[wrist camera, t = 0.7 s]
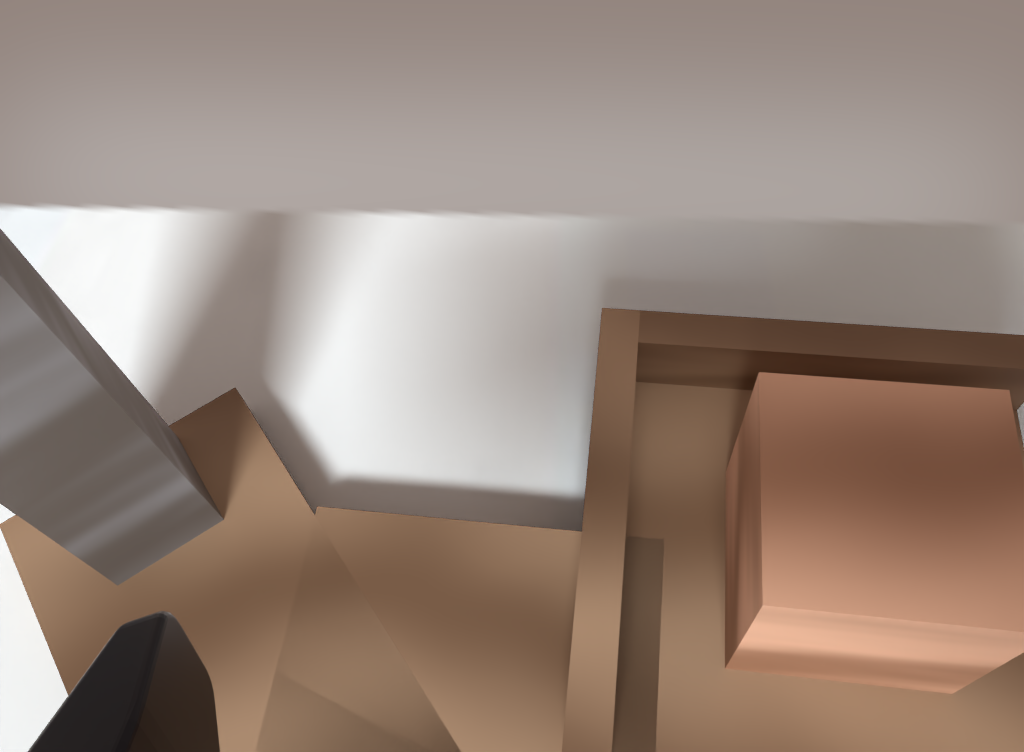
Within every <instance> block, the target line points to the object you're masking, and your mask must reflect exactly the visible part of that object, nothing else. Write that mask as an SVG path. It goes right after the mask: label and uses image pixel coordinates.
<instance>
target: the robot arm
mask: <svg viewBox="0 0 1024 752" xmlns="http://www.w3.org/2000/svg"><path fill="white" fill-rule="evenodd" d="M28 752H220V746H219V736H218V726H217V716H216V706H215V697H214V691H213V686H212V682H211V679H210V676H209V674H208V671H207V669H206V667H205V666H204V664H203V662H202V661H201V659H200V657H199V655H198V654H197V652H196V650H195V649H194V647H193V645H192V644H191V642H190V640H189V638H188V637H187V635H186V633H185V632H184V630H183V628H182V627H181V625H180V623H179V622H178V620H177V619H176V618H175V617H174V616H173V615H172V614H171V613H170V612H166V611H160V612H157V613H154V614H151V615H148V616H145V617H142V618H139V619H136V620H133V621H130V622H127V623H125V624H123V625H121V626H120V627H119V628H118V629H117V630H116V631H115V633H114V634H113V635H112V637H111V638H110V639H109V641H108V642H107V644H106V645H105V646H104V648H103V649H102V650H101V652H100V653H99V655H98V656H97V657H96V659H95V660H94V661H93V663H92V664H91V666H90V667H89V668H88V670H87V671H86V672H85V674H84V675H83V677H82V678H81V679H80V681H79V682H78V683H77V685H76V686H75V687H74V689H73V690H72V692H71V693H70V694H69V696H68V697H67V698H66V700H65V701H64V703H63V704H62V705H61V707H60V708H59V709H58V711H57V712H56V714H55V715H54V716H53V718H52V719H51V720H50V722H49V723H48V725H47V726H46V727H45V729H44V730H43V731H42V733H41V734H40V736H39V737H38V738H37V740H36V741H35V742H34V744H33V745H32V746H31V748H30V749H29V751H28Z"/></svg>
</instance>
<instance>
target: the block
mask: <svg viewBox="0 0 1024 752" xmlns="http://www.w3.org/2000/svg"><path fill="white" fill-rule="evenodd" d="M1022 653H1024V469H1023V463H1022V458H1021V452H1020V447H1019V441H1018V435H1017V430H1016V424H1015V419H1014V413H1013V408H1012V402H1011V397H1010V391H1009V390H1002V389H988V388H974V387H960V386H946V385H932V384H918V383H904V382H890V381H876V380H862V379H848V378H834V377H821V376H807V375H793V374H779V373H765V372H759V373H758V376H757V379H756V382H755V385H754V388H753V391H752V394H751V397H750V400H749V403H748V406H747V409H746V413H745V416H744V419H743V422H742V425H741V428H740V431H739V434H738V437H737V440H736V443H735V446H734V449H733V452H732V455H731V458H730V461H729V464H728V467H727V470H726V545H725V669H732V670H741V671H750V672H759V673H768V674H777V675H786V676H795V677H804V678H813V679H822V680H831V681H840V682H849V683H858V684H867V685H876V686H885V687H894V688H903V689H912V690H921V691H930V692H939V693H948V694H953V693H955V692H956V691H958V690H960V689H962V688H963V687H965V686H967V685H968V684H970V683H972V682H974V681H975V680H977V679H979V678H981V677H982V676H984V675H986V674H987V673H989V672H991V671H993V670H994V669H996V668H998V667H999V666H1001V665H1003V664H1005V663H1006V662H1008V661H1010V660H1011V659H1013V658H1015V657H1017V656H1018V655H1020V654H1022Z"/></svg>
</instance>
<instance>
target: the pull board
mask: <svg viewBox="0 0 1024 752" xmlns="http://www.w3.org/2000/svg"><path fill="white" fill-rule="evenodd" d="M759 372H765V373H779V374H793V375H807V376H821V377H834V378H848V379H862V380H876V381H890V382H904V383H918V384H932V385H946V386H960V387H974V388H988V389H1002V390H1009V391H1010V397H1011V402H1012V408H1013V413H1014V419H1015V424H1016V430H1017V435H1018V441H1019V447H1020V452H1021V458H1022V463H1023V469H1024V447H1023V442H1022V436H1021V431H1020V425H1019V420H1018V414H1017V409H1018V408H1019V407H1020V406H1021V405H1022V404H1023V402H1024V335H1012V334H996V333H981V332H966V331H950V330H935V329H919V328H904V327H888V326H873V325H857V324H842V323H826V322H811V321H795V320H780V319H764V318H749V317H733V316H718V315H703V314H687V313H672V312H656V311H641V310H626V309H610V308H602V314H601V325H600V336H599V347H598V358H597V369H596V380H595V391H594V402H593V413H592V424H591V435H590V446H589V457H588V468H587V479H586V490H585V501H584V512H583V523H582V531H571V530H561V529H550V528H540V527H529V526H519V525H508V524H498V523H487V522H477V521H466V520H456V519H445V518H435V517H424V516H413V515H403V514H392V513H382V512H371V511H361V510H350V509H340V508H329V507H319V506H317V509H316V513H315V514H314V513H313V511H312V509H311V508H310V506H309V505H308V503H307V501H306V500H305V498H304V496H303V495H302V493H301V492H300V490H299V488H298V487H297V485H296V484H295V482H294V480H293V479H292V477H291V476H290V474H289V472H288V471H287V469H286V467H285V466H284V464H283V463H282V461H281V459H280V458H279V456H278V455H277V453H276V451H275V450H274V448H273V447H272V445H271V443H270V442H269V440H268V438H267V437H266V435H265V434H264V432H263V430H262V429H261V427H260V426H259V424H258V422H257V421H256V419H255V418H254V416H253V414H252V413H251V411H250V409H249V408H248V406H247V405H246V403H245V402H244V400H243V399H242V397H241V396H240V394H239V393H238V391H237V390H236V388H233V389H232V390H230V391H228V392H227V393H225V394H223V395H221V396H220V397H218V398H216V399H215V400H213V401H211V402H209V403H208V404H206V405H204V406H202V407H201V408H199V409H197V410H196V411H194V412H192V413H190V414H189V415H187V416H185V417H184V418H182V419H180V420H178V421H177V422H175V423H173V424H172V425H170V426H168V425H167V424H166V423H165V421H164V420H163V419H162V418H161V417H160V416H159V414H158V413H157V412H156V411H155V410H154V409H153V407H152V406H151V405H150V404H149V403H148V401H147V400H146V399H145V398H144V397H143V396H142V394H141V393H140V392H139V391H138V390H137V389H136V387H135V386H134V385H133V384H132V383H131V382H130V380H129V379H128V378H127V377H126V376H125V374H124V373H123V372H122V371H121V370H120V369H119V367H118V366H117V365H116V364H115V363H114V362H113V360H112V359H111V358H110V357H109V356H108V355H107V353H106V352H105V351H104V350H103V349H102V347H101V346H100V345H99V344H98V343H97V342H96V340H95V339H94V338H93V337H92V336H91V335H90V333H89V332H88V331H87V330H86V329H85V328H84V326H83V325H82V324H81V323H80V322H79V320H78V319H77V318H76V317H75V316H74V315H73V313H72V312H71V311H70V310H69V309H68V308H67V306H66V305H65V304H64V303H63V302H62V301H61V299H60V298H59V297H58V296H57V295H56V293H55V292H54V291H53V290H52V289H51V288H50V286H49V285H48V284H47V283H46V282H45V281H44V279H43V278H42V277H41V276H40V275H39V274H38V272H37V271H36V270H35V269H34V268H33V266H32V265H31V264H30V263H29V262H28V261H27V259H26V258H25V257H24V256H23V255H22V254H21V252H20V251H19V250H18V249H17V248H16V247H15V245H14V244H13V243H12V242H11V241H10V239H9V238H8V237H7V236H6V235H5V234H4V232H3V231H2V230H1V229H0V504H2V505H3V506H5V507H6V508H7V509H9V510H10V511H12V512H13V513H15V514H16V515H15V516H13V517H11V518H10V519H8V520H6V521H5V522H3V523H1V524H0V528H1V530H2V533H3V535H4V538H5V540H6V543H7V545H8V548H9V550H10V553H11V555H12V558H13V560H14V563H15V565H16V567H17V570H18V572H19V575H20V577H21V580H22V582H23V585H24V587H25V590H26V592H27V595H28V597H29V600H30V602H31V604H32V607H33V609H34V612H35V614H36V617H37V619H38V622H39V624H40V627H41V629H42V632H43V634H44V637H45V639H46V641H47V644H48V646H49V649H50V651H51V654H52V656H53V659H54V661H55V664H56V666H57V669H58V671H59V674H60V676H61V679H62V681H63V683H64V686H65V688H66V691H67V693H68V696H69V694H70V693H71V692H72V690H73V689H74V687H75V686H76V685H77V683H78V682H79V681H80V679H81V678H82V677H83V675H84V674H85V672H86V671H87V670H88V668H89V667H90V666H91V664H92V663H93V661H94V660H95V659H96V657H97V656H98V655H99V653H100V652H101V650H102V649H103V648H104V646H105V645H106V644H107V642H108V641H109V639H110V638H111V637H112V635H113V634H114V633H115V631H116V630H117V629H118V628H119V627H120V626H121V625H123V624H125V623H127V622H130V621H133V620H136V619H139V618H142V617H145V616H148V615H151V614H154V613H157V612H160V611H166V612H170V613H171V614H172V615H173V616H174V617H175V618H176V619H177V620H178V622H179V623H180V625H181V627H182V628H183V630H184V632H185V633H186V635H187V637H188V638H189V640H190V642H191V644H192V645H193V647H194V649H195V650H196V652H197V654H198V655H199V657H200V659H201V661H202V662H203V664H204V666H205V667H206V669H207V671H208V674H209V676H210V679H211V682H212V686H213V691H214V697H215V706H216V716H217V726H218V736H219V746H220V752H1024V653H1022V654H1020V655H1018V656H1017V657H1015V658H1013V659H1011V660H1010V661H1008V662H1006V663H1005V664H1003V665H1001V666H999V667H998V668H996V669H994V670H993V671H991V672H989V673H987V674H986V675H984V676H982V677H981V678H979V679H977V680H975V681H974V682H972V683H970V684H968V685H967V686H965V687H963V688H962V689H960V690H958V691H956V692H955V693H953V694H948V693H939V692H930V691H921V690H912V689H903V688H894V687H885V686H876V685H867V684H858V683H849V682H840V681H831V680H822V679H813V678H804V677H795V676H786V675H777V674H768V673H759V672H750V671H741V670H732V669H725V545H726V470H727V467H728V464H729V461H730V458H731V455H732V452H733V449H734V446H735V443H736V440H737V437H738V434H739V431H740V428H741V425H742V422H743V419H744V416H745V413H746V409H747V406H748V403H749V400H750V397H751V394H752V391H753V388H754V385H755V382H756V379H757V376H758V373H759Z"/></svg>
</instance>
